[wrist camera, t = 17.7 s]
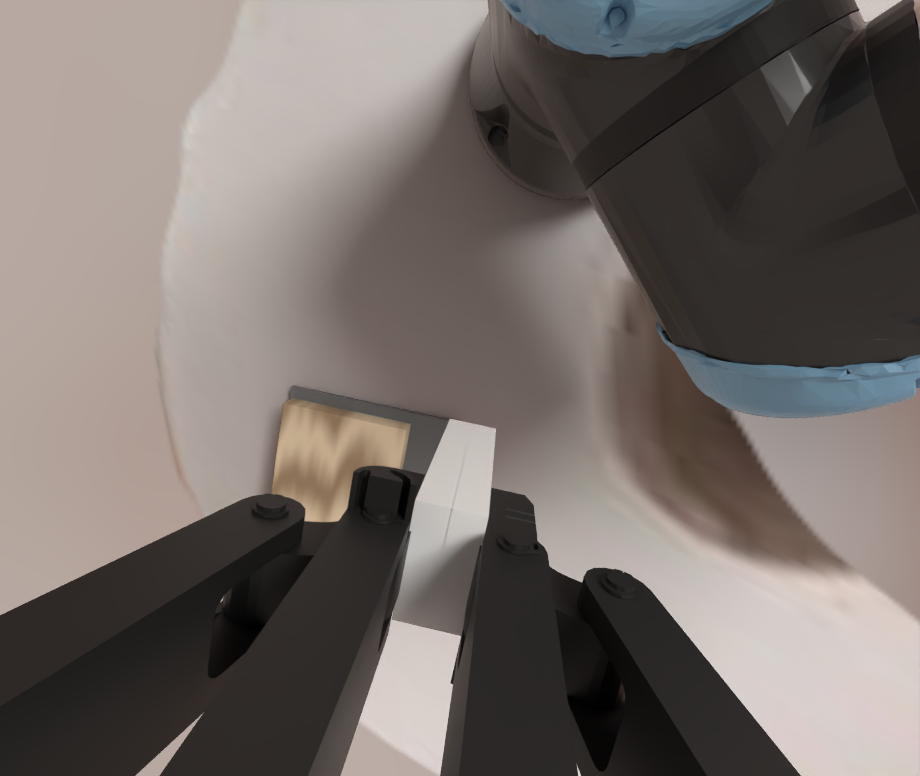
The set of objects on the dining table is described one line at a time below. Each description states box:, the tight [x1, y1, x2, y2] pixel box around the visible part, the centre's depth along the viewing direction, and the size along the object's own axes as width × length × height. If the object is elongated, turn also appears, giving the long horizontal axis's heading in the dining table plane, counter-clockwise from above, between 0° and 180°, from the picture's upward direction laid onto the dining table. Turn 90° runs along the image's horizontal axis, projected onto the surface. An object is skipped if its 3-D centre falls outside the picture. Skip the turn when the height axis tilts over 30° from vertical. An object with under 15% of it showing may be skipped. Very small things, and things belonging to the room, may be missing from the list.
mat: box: [289, 386, 449, 475], centre depth 46 cm, size 14×14×1 cm
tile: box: [271, 398, 411, 522], centre depth 45 cm, size 12×2×10 cm
